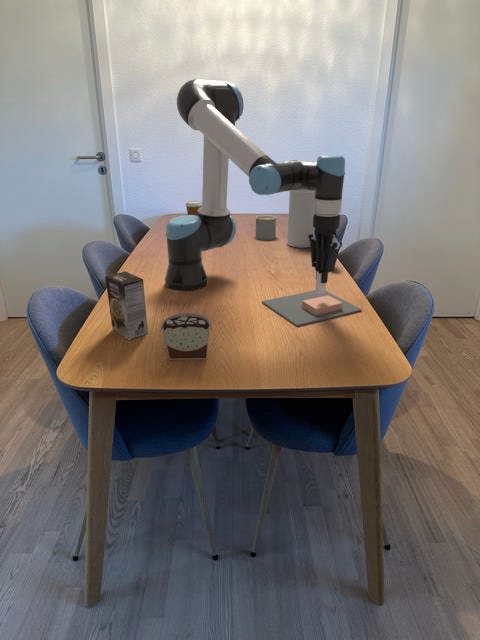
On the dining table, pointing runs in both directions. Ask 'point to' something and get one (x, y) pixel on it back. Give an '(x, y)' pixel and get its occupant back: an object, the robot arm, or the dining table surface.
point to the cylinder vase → (300, 217)
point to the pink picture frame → (322, 305)
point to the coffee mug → (265, 227)
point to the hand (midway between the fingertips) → (320, 291)
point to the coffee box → (127, 304)
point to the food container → (186, 336)
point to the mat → (299, 316)
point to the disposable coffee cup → (193, 207)
